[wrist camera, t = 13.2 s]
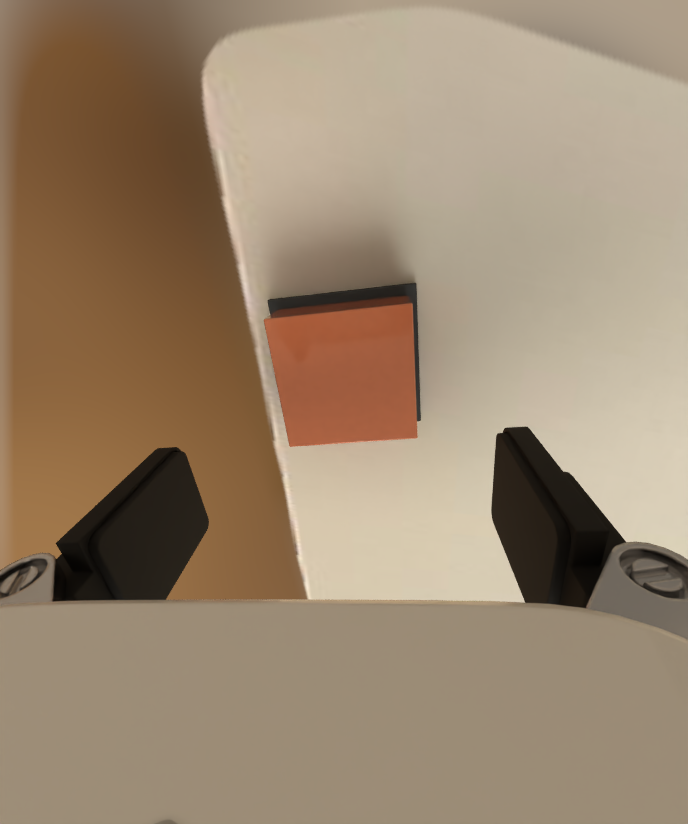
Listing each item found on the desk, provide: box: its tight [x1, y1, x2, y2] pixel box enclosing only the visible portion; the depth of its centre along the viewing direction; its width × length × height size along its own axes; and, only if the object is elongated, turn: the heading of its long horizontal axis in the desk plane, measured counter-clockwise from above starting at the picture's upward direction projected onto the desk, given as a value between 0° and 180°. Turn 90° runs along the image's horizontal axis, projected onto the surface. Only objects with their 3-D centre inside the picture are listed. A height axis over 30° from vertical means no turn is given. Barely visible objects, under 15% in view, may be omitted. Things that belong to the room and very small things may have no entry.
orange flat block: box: [264, 296, 418, 447], centre depth 21 cm, size 7×7×3 cm
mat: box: [268, 283, 421, 421], centre depth 22 cm, size 8×8×1 cm
